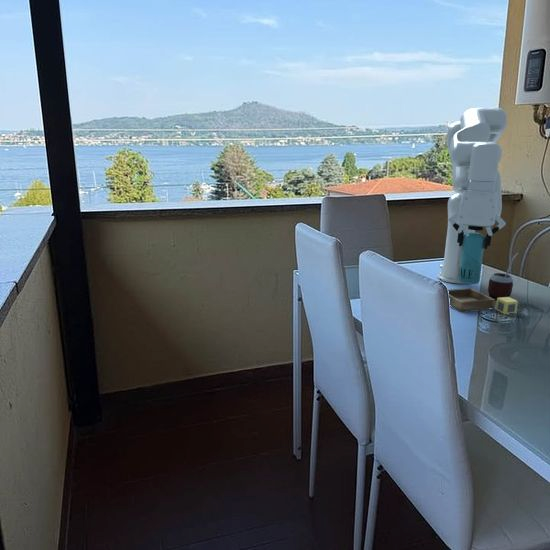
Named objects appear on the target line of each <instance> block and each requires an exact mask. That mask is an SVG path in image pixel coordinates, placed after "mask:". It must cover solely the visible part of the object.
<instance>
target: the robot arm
mask: <svg viewBox="0 0 550 550" xmlns="http://www.w3.org/2000/svg"><path fill="white" fill-rule="evenodd" d="M507 122H508V117H507V113H506V111H505V110H504V109H503V108H501V107H473V108H468V109H467V110H465V111H464V112H463V113H462V115H461V117H460V119H459V121H456V122H453V123H451V124H450V125H449V127H448V129H447V130H446V131H447V133H446V143H447V149H448V153H449V160H450V163H451V164H452V169H451V170H452V172H451V173H452V189H453V191H454V192H455V193H454V194H452V195H450V196H449V198H448V201H447V231H446V240H445V250H444V256H443V257H444V259H443V263H442V264H439V268H441V272H438V274H437V278H438V279H439V280H440V279H441V281H443V282H446V283H450V284H462V285H465V283H462V282H459V280H458V277H459V276H458V275H459V273H458V272H459V268H460V260H461V252H462V251H461V250H462V249H461V248H462V245H463V236H464V235H465V234H467V233H469V232H475V233H476V230H470V229H468V226H479V227H483V228H485V230H486V235H485V244H484V250H488V247H490V246H491V244H492V243H491V241H492V236H493V235H494V234H495V233H497V232H498V231H500V230H501V229H502V228H504V227H505V226H506V223H507V222H505V221H504V219H503V218H502V217H501V214H502V208H503V202H502V201H503V199H502V195H503V194H502V177H501V174H500V171H499V170H498V168H499V163H500V161H501V158H502V152H503V150H502V148H501V146H500V144H499V143H497V142H498V140H499V139H500V138H501V136H502V135H503V133H504V132H505V129H506V126H507V124H508V123H507ZM496 222H497V223H498V225H496V226H495V227H493V226H494V225H495V224H496Z"/></svg>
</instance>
